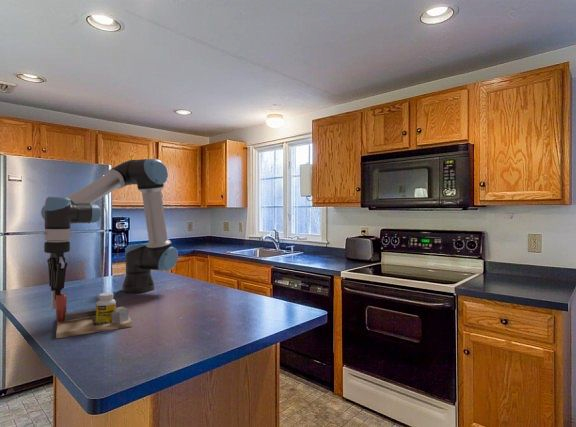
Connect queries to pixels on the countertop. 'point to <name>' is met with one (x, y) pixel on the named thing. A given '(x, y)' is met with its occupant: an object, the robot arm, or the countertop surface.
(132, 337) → the countertop surface
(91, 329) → the tan flat square sheet
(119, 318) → the grey angular block
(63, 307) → the lever
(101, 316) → the pill bottle
